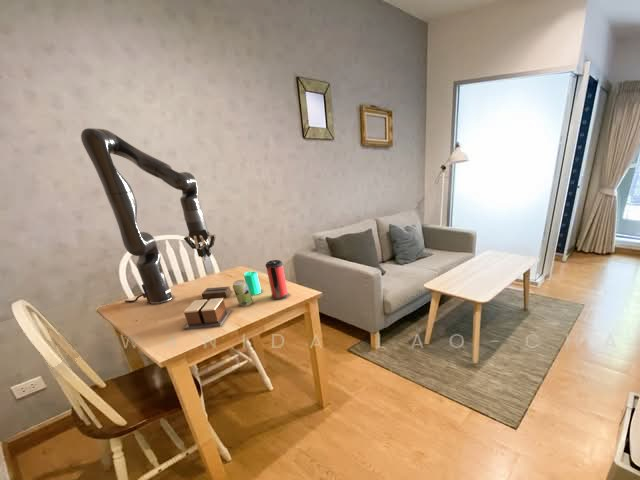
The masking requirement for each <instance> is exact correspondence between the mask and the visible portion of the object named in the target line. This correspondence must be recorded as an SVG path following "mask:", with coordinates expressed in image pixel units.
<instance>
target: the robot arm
mask: <svg viewBox="0 0 640 480" xmlns="http://www.w3.org/2000/svg"><path fill="white" fill-rule="evenodd" d="M80 140H81V143H82V146H83V148H84V149H85V151H86V154H87V155H88V157H89V159H90V161H91V163H92V165H93V167H94V169H95V171H96V173H97V176H98V178H99V180H100V182H101V185H102V187H103V191H104V193H105V196H106V199H107V201H108V203H109V205H110V208H111V210H112V213H113V215H114V218H115V221H116V223H117V225H118V229H119V232H120V236H121V240H122V243H123V246H124V248H125V250H126V251H127V252H128V253H129V254H130V255H131V256H134V257H138V258H137V261H136V263H135V266H136V269H137V271H138V274H139V276H140V279H141V281H142V284H141V288H142V290H143V292H142V293H141V294H139V295H137V296H136V298H135V299H133V300H127V299H126V300H124V302H125V303H135V302H137V301H138V300H139V298H141V297H142V298H143V299H146V301H147V303H148V304H152V305H159V304H162V303H167V302H169V301H172V299H173V298H174V297H173V295H172V292H171V288H170V286H169V284H168V280H167V277H166V275H165V272H164V269H163V265H162V263H161V254H160V251H159V247H158V244H157V241H156V239H155V237H154V236H153V235H152V234H151V233H149V232H147V231H140V229H139V225H138V222H137V220H138V219H137V217H138V203H137V202H138V201H137V199H136V196H135V194H134V190H133V189H132V187H131V185H130V184H129V182H128V181H127V180H126V178H124V176H123V175H122V174H121V172H120V171H118V169H117V168H116V166H115V163H114V161H113V159H112V156H111V154H112V155H115V156H118V157H121V158H124V159H126V160H128V161H129V162H131V163H133V164H134V165H135V166H136V167H137V168H139V169H140V170H142V171H143V172H145V173H147V174H149V175H151V176H153V177H155V178H157V179H160V180H162V181H163V182H164V183H165V184H167V185H169V187H171V188H174V189H175V190H178V191H181V197H179V201H180V206H181V208H182V212H183V213H182V214H183V217H184V221H185V223H186V227H187V230H188V235H186V236H185V237H183V240H184V241H185V242H186V244H187V245H188V247H190V248H191V249H192V250H196V249H198V248H199V247H200V246H202V245H204V246H205V250H206V253H207V257H210V258H211V255H212V252H211V249H212V247H214V246H215V241H216V238H217V235H216V234H212V233H210V232H209V230H208V227H207V222H206V219H205V216H204V213H203V211H202V207H201V203H200V200H199V190H198V189H199V187H198V182H197V179H196V177H195V176H194V175H193V174H192V173H191V172H189V171H188V172H187V171H181V172H178V171H176V170H174V169H173V168H172V166H171V165H170V164H168V163H166V162H165V161H163V160H160V159H158V158H156V157H155V156H152V155H150V154H147V152H144V151H143V150H140V149H139V148H137V147H135V146H134V145H132V144H131V143H128V142H127V141H126V140H124V139H123V138H121V137H120V136H118V135H117V134H115V133H114V132H112V131H110V130H108V129H104V128H94V127H91V128H90V127H87V128H84V129H83V130H82V131H81V133H80ZM208 239H210V241H209V240H208ZM201 243H202V244H201ZM199 258H204V256H200V257H199Z"/></svg>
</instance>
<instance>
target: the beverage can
mask: <svg viewBox="0 0 640 480" xmlns="http://www.w3.org/2000/svg"><path fill="white" fill-rule="evenodd" d="M232 289H233V293H234V294H235V297H236V299H237V302H238V304H239V305H240V306H243V307H245V306H246V307H247V306H249V305H251V304H252V303H253V296H252V295H251V294H250V291H249V289H248V286H247V283H246V282H245V279H237V280H235V281H234V282H233V283H232Z"/></svg>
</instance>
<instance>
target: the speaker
mask: <svg viewBox="0 0 640 480" xmlns="http://www.w3.org/2000/svg"><path fill="white" fill-rule="evenodd" d="M265 268H266V272H267V273H266V274H267V278H268V282H269V287H270V292H271V298H272V299H274V300H283V299H285V298H287V297H288V296H289V293H288V289H287V282H286V277H285V271H284V263H283V261H281V260H280V259H272V260H269V261H267V262H266V263H265Z"/></svg>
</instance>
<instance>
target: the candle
mask: <svg viewBox="0 0 640 480" xmlns="http://www.w3.org/2000/svg"><path fill="white" fill-rule="evenodd" d="M243 276H244V281H245V282H246V283H247V286H248V289H249V291H250V294H251V296H256V295H259V294H260V293H261V292H262V290H261V285H260V281H259V276H258V273H257V272H256V271H252V270H249V271H246V272H244V273H243Z"/></svg>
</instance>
